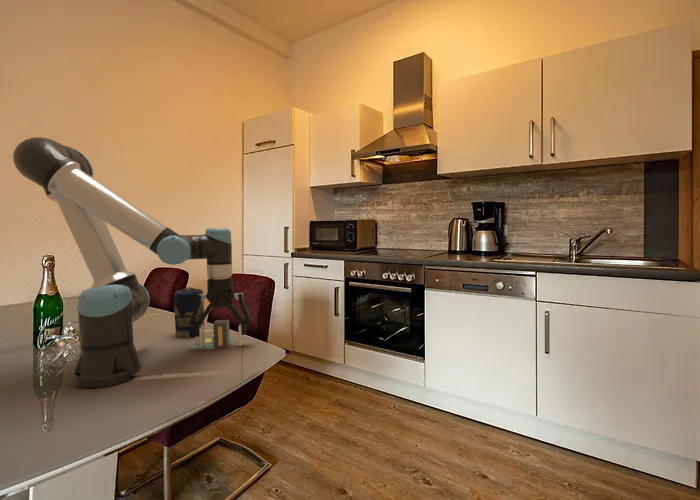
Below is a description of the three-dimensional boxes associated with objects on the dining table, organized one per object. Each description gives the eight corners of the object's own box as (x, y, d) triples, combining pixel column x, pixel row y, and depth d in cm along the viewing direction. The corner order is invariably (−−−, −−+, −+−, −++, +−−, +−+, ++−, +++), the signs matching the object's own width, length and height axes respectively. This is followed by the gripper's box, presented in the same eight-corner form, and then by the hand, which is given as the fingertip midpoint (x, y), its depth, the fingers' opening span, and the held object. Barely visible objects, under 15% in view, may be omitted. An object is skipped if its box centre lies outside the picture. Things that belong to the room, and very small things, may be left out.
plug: (227, 348, 115) (226, 323, 114) (213, 349, 114) (213, 323, 114) (229, 344, 119) (229, 319, 119) (216, 344, 119) (216, 320, 118)
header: (220, 343, 120) (220, 335, 120) (195, 344, 119) (195, 337, 119) (224, 336, 127) (224, 329, 127) (201, 337, 126) (201, 330, 126)
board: (227, 351, 115) (227, 348, 115) (190, 353, 114) (190, 350, 114) (234, 339, 128) (234, 335, 128) (201, 340, 127) (201, 337, 126)
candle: (197, 341, 125) (195, 289, 124) (170, 342, 126) (168, 289, 124) (209, 333, 135) (207, 285, 134) (183, 333, 135) (181, 285, 134)
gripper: (259, 274, 121) (260, 340, 122) (184, 276, 117) (186, 343, 119) (256, 278, 113) (258, 347, 115) (176, 280, 110) (179, 351, 111)
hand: (221, 345), depth 117 cm, fingers open, 11 cm apart
